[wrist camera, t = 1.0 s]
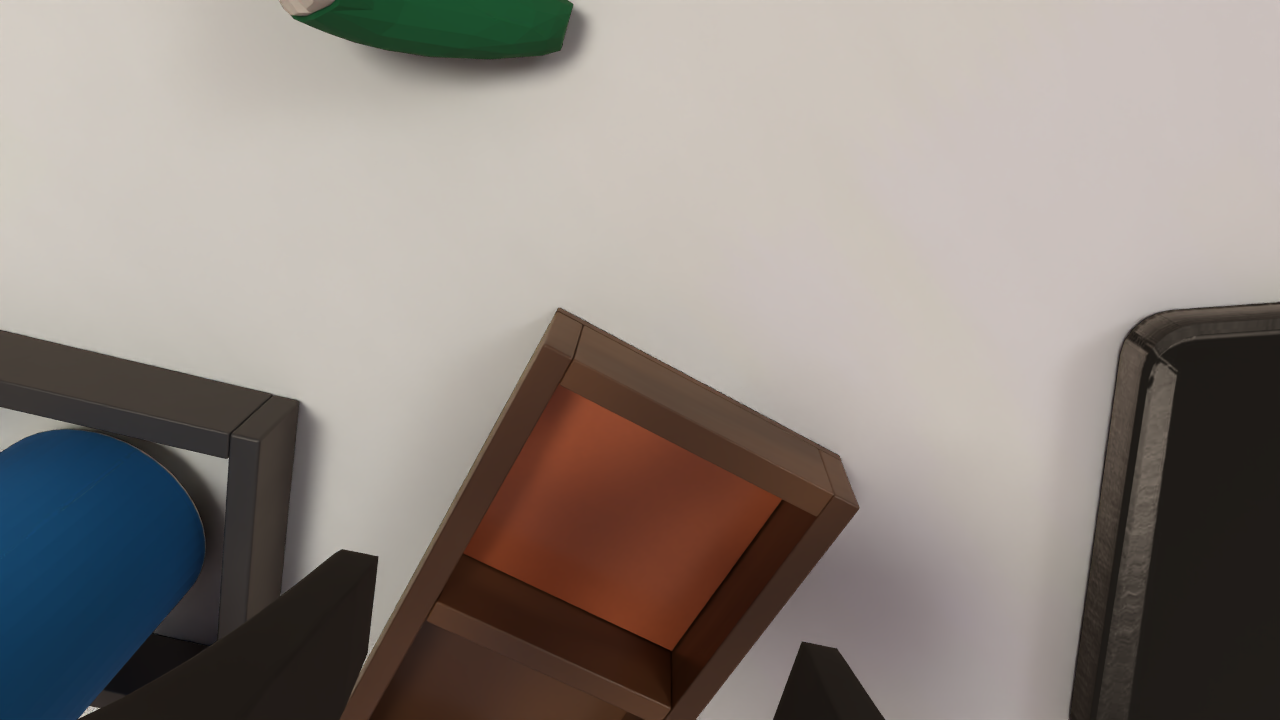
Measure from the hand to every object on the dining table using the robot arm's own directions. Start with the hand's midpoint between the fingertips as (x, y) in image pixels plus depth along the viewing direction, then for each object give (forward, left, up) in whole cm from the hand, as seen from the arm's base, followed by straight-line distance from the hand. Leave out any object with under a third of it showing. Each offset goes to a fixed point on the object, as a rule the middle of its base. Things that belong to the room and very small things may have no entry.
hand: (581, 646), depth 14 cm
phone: (+5, -18, -10) cm, 21 cm away
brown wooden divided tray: (-7, -2, -10) cm, 13 cm away
